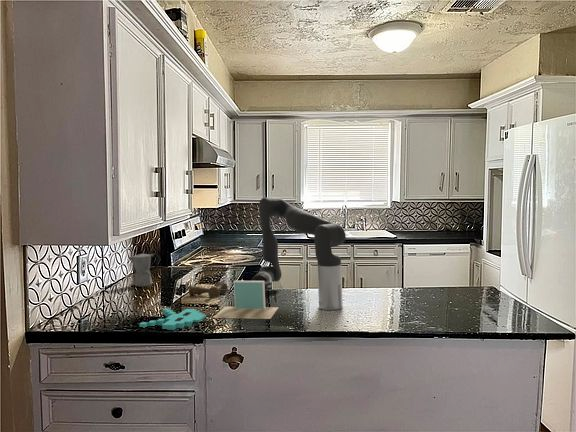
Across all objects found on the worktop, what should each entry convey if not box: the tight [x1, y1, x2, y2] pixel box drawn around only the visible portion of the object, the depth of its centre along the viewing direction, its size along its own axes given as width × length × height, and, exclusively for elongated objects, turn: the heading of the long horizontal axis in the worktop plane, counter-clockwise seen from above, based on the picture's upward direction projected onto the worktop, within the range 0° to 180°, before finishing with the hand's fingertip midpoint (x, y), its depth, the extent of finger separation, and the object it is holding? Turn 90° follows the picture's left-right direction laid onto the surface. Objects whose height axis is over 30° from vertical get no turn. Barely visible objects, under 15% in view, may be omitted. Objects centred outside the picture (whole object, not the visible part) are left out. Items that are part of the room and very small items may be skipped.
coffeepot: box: [128, 249, 161, 288], centre depth 236 cm, size 15×9×18 cm, turn 112°
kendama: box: [188, 281, 232, 299], centre depth 207 cm, size 6×10×20 cm
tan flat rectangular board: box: [212, 306, 279, 320], centre depth 176 cm, size 22×15×1 cm
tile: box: [233, 280, 266, 310], centre depth 180 cm, size 12×2×11 cm, turn 80°
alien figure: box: [138, 307, 207, 331], centre depth 171 cm, size 20×2×20 cm
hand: (251, 290), depth 183 cm, fingers closed
